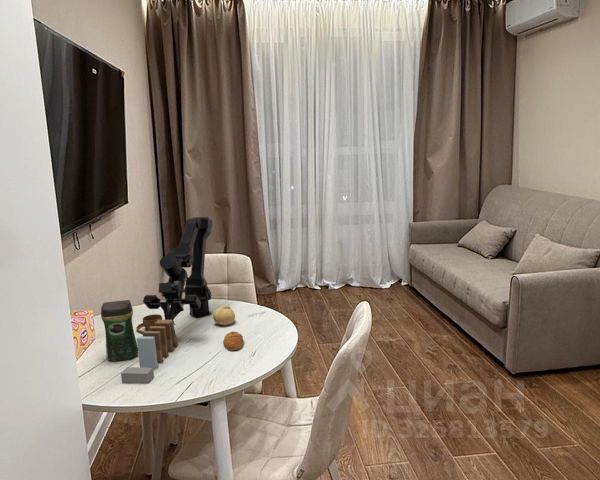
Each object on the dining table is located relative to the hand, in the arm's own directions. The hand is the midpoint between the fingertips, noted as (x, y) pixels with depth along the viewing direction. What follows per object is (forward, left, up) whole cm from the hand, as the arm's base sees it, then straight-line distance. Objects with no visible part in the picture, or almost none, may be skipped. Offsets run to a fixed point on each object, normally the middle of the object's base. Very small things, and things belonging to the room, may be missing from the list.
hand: (167, 325), depth 177 cm
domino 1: (+11, +11, -8) cm, 18 cm away
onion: (-24, -6, -8) cm, 27 cm away
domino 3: (+5, +5, -8) cm, 11 cm away
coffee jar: (+15, -3, -8) cm, 17 cm away
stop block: (+17, +17, -8) cm, 25 cm away
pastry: (-17, +14, -8) cm, 23 cm away
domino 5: (-1, -1, -8) cm, 8 cm away
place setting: (-3, -25, -9) cm, 27 cm away
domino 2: (+8, +8, -8) cm, 14 cm away
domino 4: (+2, +2, -8) cm, 9 cm away
